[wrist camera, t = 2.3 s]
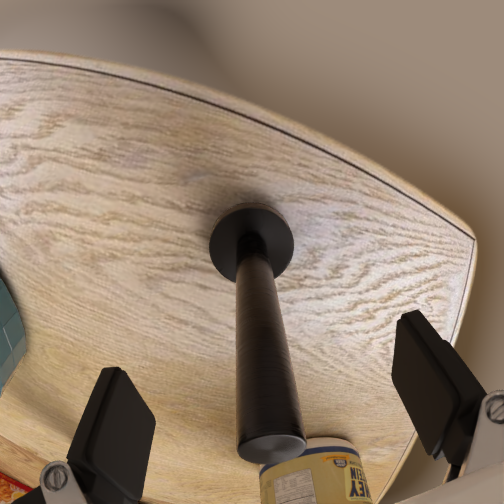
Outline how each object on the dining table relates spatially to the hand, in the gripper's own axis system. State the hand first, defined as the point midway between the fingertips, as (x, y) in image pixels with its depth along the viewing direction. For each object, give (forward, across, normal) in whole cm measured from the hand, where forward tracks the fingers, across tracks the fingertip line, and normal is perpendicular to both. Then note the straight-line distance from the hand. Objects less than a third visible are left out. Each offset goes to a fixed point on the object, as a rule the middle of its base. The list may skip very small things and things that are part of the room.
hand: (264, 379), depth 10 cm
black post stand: (+11, 0, 0) cm, 11 cm away
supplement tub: (+12, -1, +28) cm, 31 cm away
